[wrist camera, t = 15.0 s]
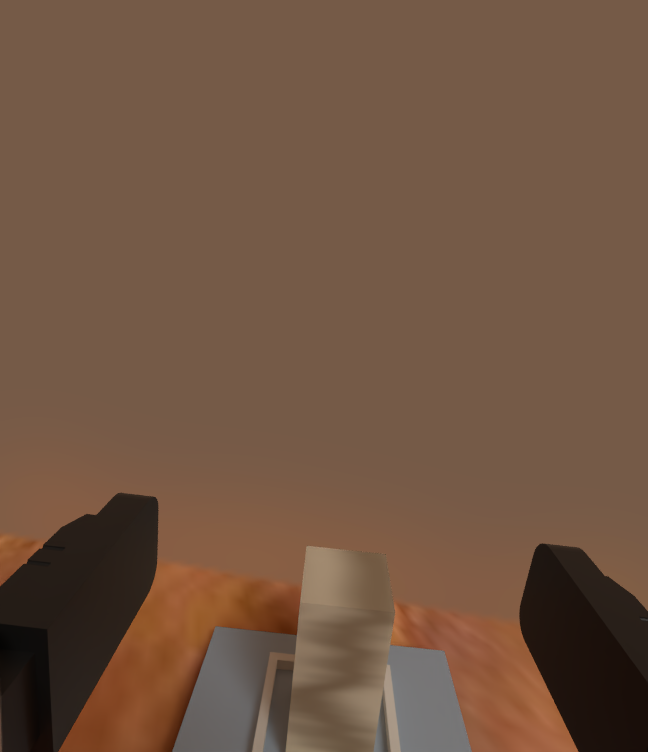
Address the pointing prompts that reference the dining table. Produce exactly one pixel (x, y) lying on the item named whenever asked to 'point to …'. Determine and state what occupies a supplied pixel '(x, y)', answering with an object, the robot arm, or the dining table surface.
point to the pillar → (340, 651)
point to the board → (273, 695)
